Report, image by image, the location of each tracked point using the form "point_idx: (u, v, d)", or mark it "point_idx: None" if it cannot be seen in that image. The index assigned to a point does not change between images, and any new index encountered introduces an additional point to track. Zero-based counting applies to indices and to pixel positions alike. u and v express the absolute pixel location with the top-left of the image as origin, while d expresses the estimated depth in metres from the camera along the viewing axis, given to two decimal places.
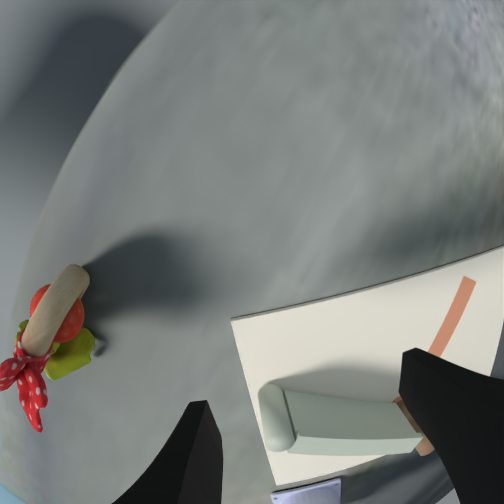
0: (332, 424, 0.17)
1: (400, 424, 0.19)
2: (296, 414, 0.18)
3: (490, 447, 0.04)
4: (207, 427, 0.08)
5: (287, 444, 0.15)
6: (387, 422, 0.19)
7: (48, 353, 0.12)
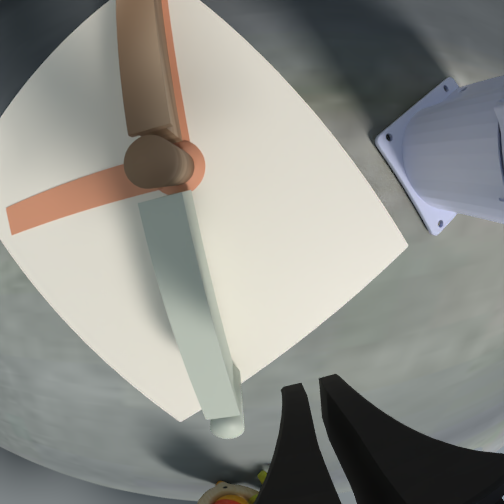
0: None
1: None
2: None
3: None
4: None
5: (225, 422, 0.14)
6: None
7: None
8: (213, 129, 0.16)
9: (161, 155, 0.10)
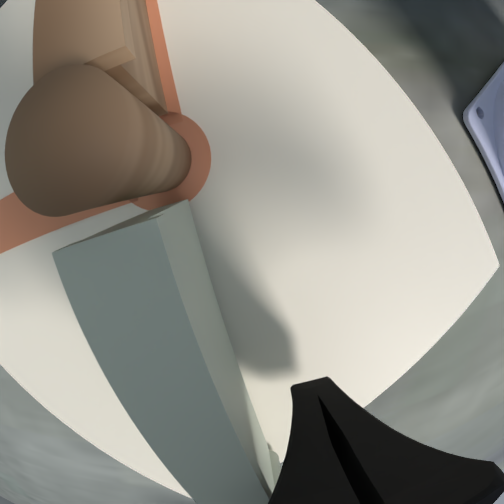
0: None
1: None
2: None
3: None
4: None
5: None
6: None
7: None
8: (223, 90, 0.08)
9: (88, 115, 0.03)
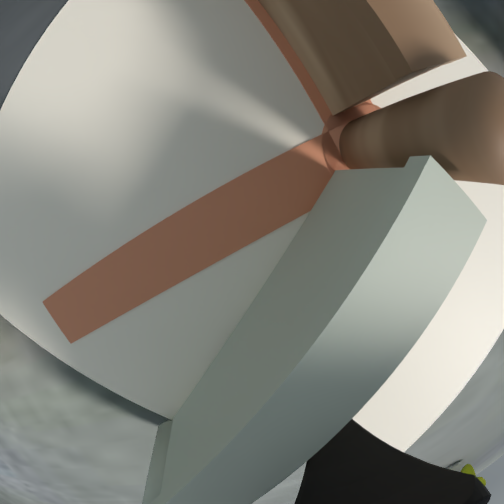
0: (201, 437, 0.07)
1: (355, 215, 0.06)
2: (168, 461, 0.08)
3: None
4: None
5: None
6: (317, 266, 0.06)
7: None
8: None
9: None
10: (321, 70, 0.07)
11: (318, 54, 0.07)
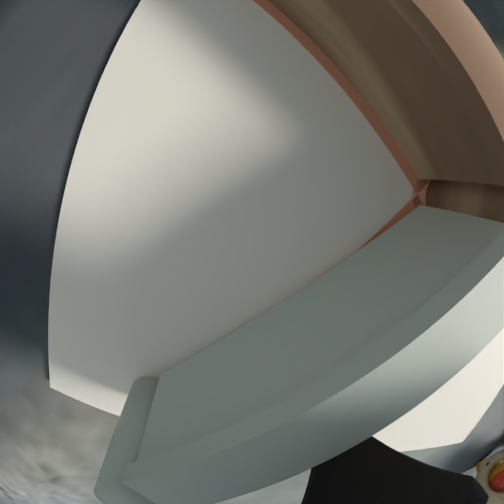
0: (230, 401, 0.06)
1: (453, 242, 0.06)
2: (155, 420, 0.07)
3: None
4: None
5: (138, 500, 0.05)
6: (412, 269, 0.07)
7: None
8: None
9: None
10: (414, 145, 0.08)
11: (415, 134, 0.08)
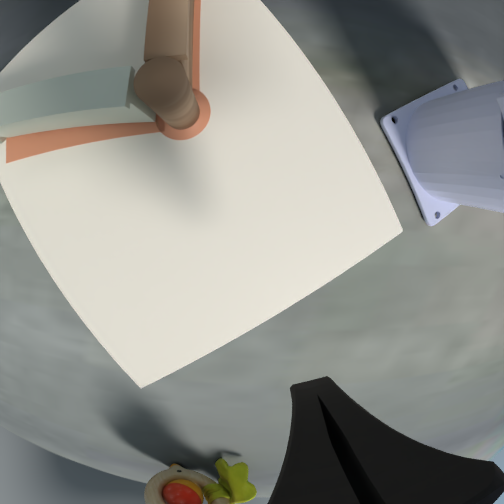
0: None
1: None
2: None
3: None
4: None
5: None
6: None
7: None
8: (225, 82, 0.15)
9: (172, 75, 0.09)
10: None
11: None
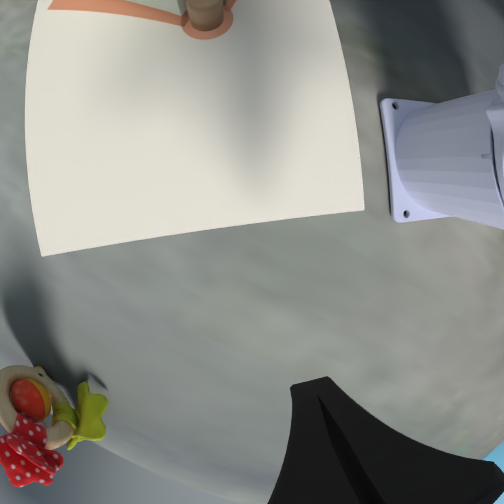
0: None
1: None
2: None
3: None
4: None
5: None
6: None
7: (16, 420, 0.12)
8: (254, 11, 0.14)
9: None
10: None
11: None
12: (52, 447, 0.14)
